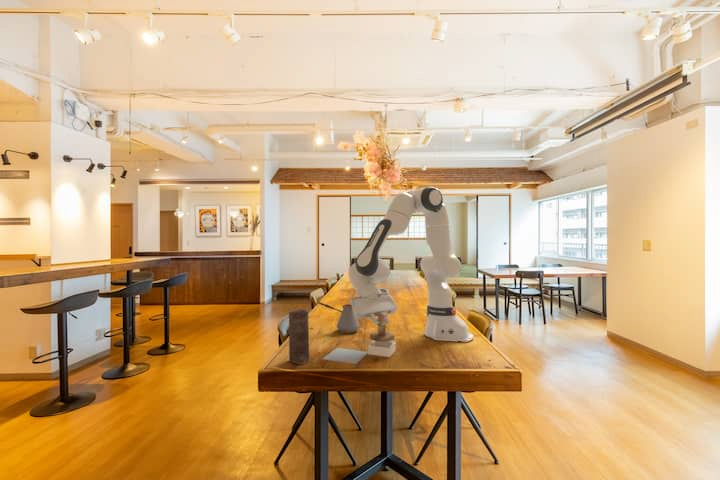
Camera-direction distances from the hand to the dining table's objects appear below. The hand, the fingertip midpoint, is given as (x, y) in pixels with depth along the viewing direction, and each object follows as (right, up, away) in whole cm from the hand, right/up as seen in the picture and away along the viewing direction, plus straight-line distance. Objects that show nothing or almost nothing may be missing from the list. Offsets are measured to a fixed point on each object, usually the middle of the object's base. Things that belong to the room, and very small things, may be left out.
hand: (382, 323), depth 139 cm
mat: (-15, -12, -3) cm, 19 cm away
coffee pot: (-20, -12, +33) cm, 40 cm away
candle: (-32, -12, -10) cm, 36 cm away
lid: (0, -6, +1) cm, 6 cm away
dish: (0, -12, +1) cm, 12 cm away
